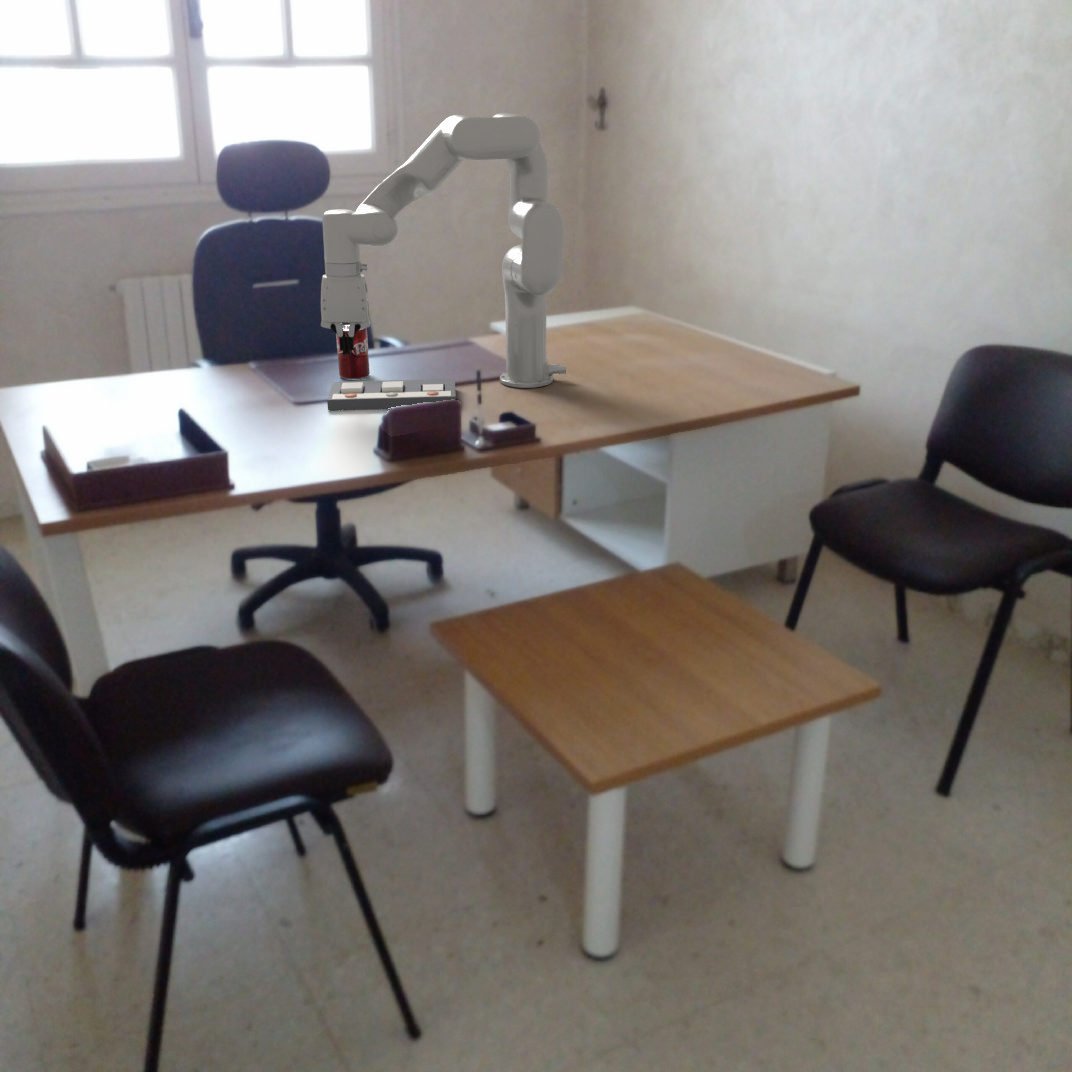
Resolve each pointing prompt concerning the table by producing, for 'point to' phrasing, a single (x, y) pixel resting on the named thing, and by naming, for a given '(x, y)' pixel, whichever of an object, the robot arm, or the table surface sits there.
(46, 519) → the table surface
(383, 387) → the middle button
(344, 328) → the soda can
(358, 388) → the button
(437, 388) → the button
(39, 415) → the table surface
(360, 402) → the button board
